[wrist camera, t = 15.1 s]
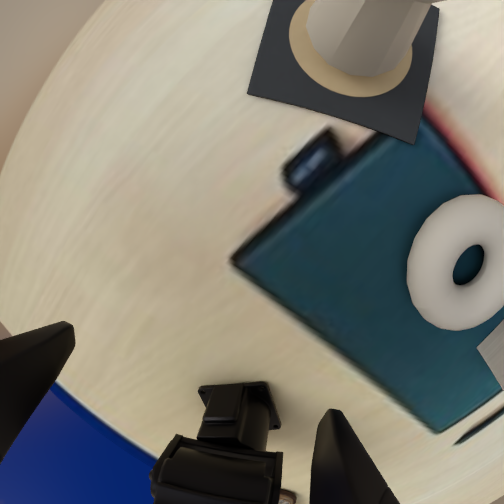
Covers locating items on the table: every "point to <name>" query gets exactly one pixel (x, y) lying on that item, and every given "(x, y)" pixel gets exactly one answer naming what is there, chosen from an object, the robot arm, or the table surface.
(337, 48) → the salt shaker
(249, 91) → the coaster
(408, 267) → the donut
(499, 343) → the white paper bag
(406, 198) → the table surface
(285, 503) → the compass
